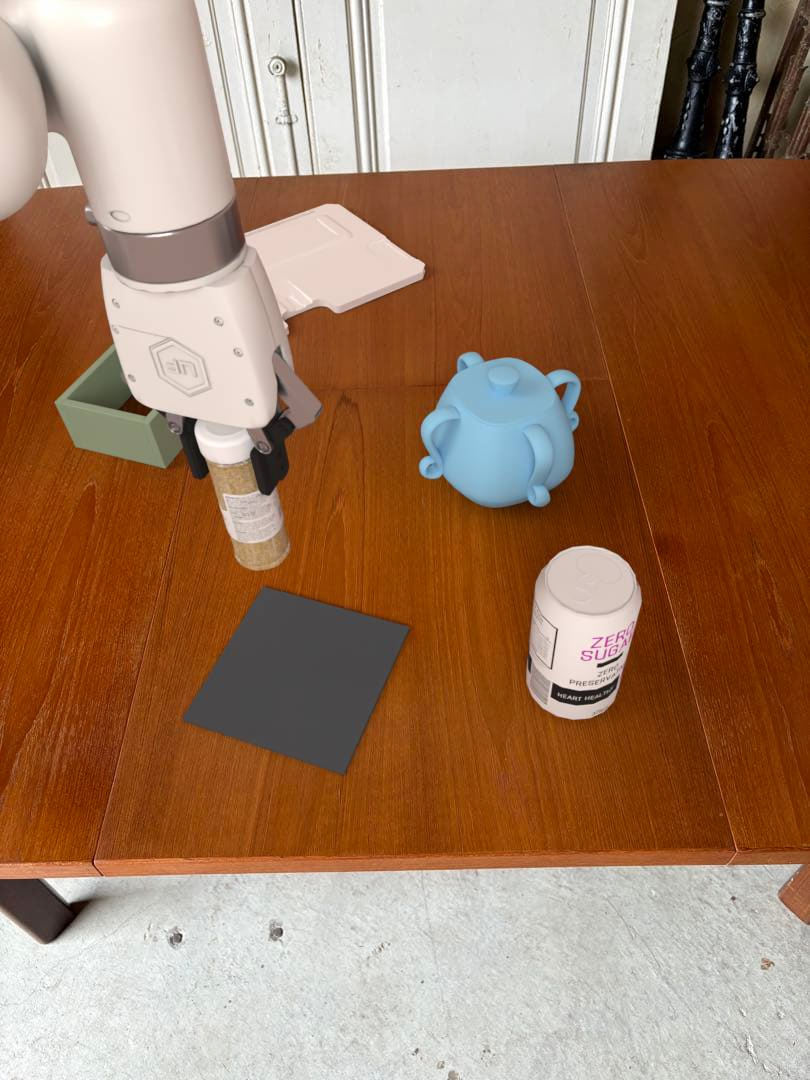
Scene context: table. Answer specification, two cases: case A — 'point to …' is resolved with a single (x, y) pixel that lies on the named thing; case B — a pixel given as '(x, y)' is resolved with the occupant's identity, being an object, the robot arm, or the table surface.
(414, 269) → the tray
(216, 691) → the mat
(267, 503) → the sprinkles bottle
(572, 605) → the supplement can
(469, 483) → the decorative pot
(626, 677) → the table surface
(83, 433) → the crate
